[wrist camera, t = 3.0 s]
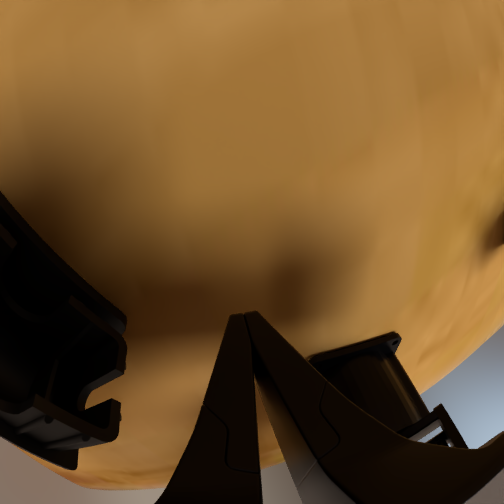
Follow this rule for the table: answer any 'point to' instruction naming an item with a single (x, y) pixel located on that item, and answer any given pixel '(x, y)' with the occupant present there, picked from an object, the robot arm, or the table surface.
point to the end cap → (53, 349)
